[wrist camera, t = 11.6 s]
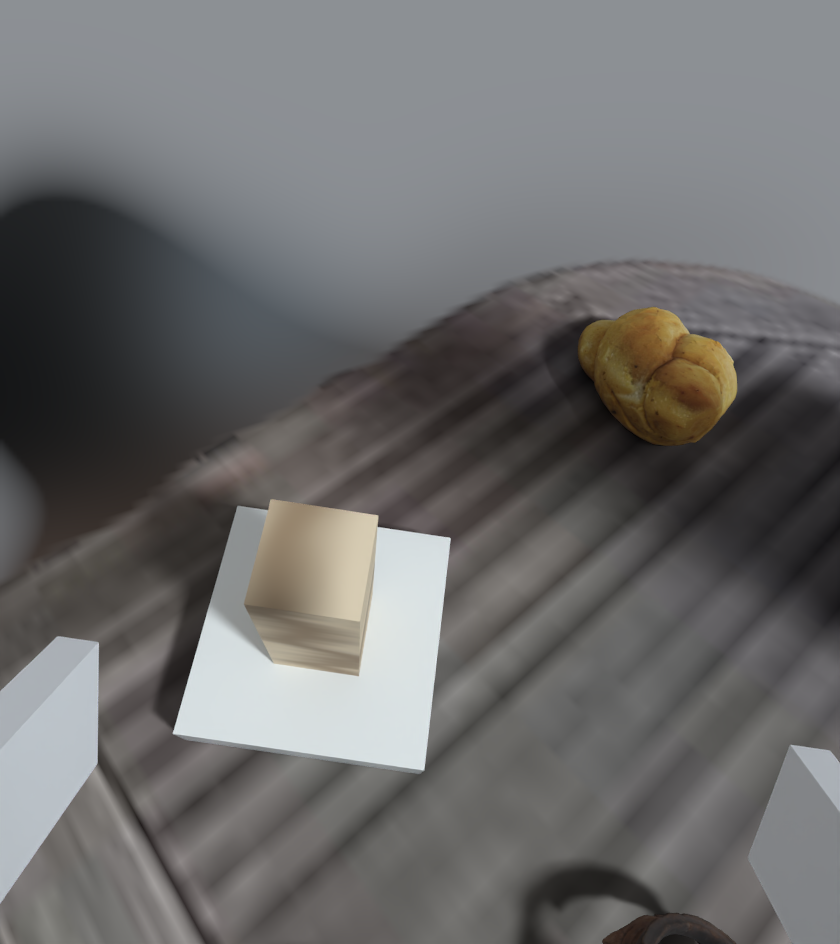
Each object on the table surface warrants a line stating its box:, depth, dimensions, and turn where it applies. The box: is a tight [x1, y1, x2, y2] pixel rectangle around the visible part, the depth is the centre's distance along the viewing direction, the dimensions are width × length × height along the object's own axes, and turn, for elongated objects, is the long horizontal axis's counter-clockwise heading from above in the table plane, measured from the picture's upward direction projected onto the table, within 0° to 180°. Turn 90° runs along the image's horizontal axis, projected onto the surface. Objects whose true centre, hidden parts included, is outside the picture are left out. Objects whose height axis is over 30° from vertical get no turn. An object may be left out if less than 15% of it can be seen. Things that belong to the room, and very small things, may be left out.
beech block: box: [244, 499, 378, 676], centre depth 35 cm, size 5×5×12 cm
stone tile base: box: [173, 506, 451, 774], centre depth 42 cm, size 14×14×3 cm
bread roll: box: [578, 307, 737, 446], centre depth 51 cm, size 13×10×8 cm
